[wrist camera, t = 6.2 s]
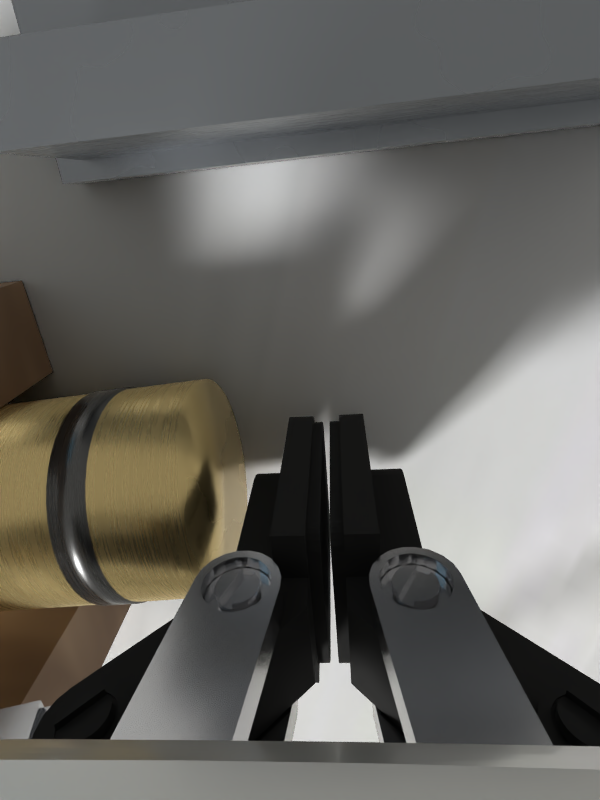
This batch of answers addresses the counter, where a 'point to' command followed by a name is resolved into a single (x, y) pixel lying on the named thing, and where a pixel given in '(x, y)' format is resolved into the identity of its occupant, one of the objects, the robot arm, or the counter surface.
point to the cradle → (285, 79)
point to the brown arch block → (48, 627)
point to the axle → (117, 494)
